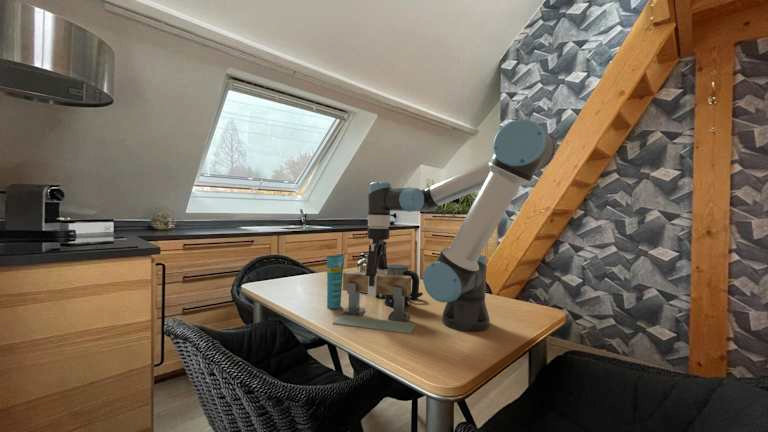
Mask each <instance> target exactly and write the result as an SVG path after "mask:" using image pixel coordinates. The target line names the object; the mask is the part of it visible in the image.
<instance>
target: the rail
mask: <svg viewBox="0 0 768 432" xmlns="http://www.w3.org/2000/svg"><path fill="white" fill-rule="evenodd" d="M376 276H377V287H376V295H377V294H378V295H385V294H386V295H393V287H403V293H402V296H407V297H409V296H410V294H411V292H412V279H411V277H412V276H402V275H390V274H386V273H385V274H378V273H377V272H376ZM348 282H349V283H357V288H356V292H360V293H366V294H368V276H366V272H365V271H364V272H363V271H362V272H361V271H353V270H352V271H351V270H347V271H343V277H342V291H346V292H347V284H348Z"/></svg>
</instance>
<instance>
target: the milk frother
mask: <svg viewBox="0 0 768 432" xmlns="http://www.w3.org/2000/svg"><path fill="white" fill-rule="evenodd" d="M387 267H388V269H387V270H386V269H385V274H390V275H402V276H412V277H411V294H410V296H409V297H407V296H404V307H406V306H408V305H409V301H411V302H416V301H417V300H418V298H420V297H422V296H423V295H424V293H423V292H420V290H419V289H420V288H419V287H420V277H419V275H418V274H417V273H416V272H415V271H414V270H409V267H410V266H409V265H407V264H401V263H400V264H398V263H396V264H394V263H393V264H387ZM384 295H385V296H384V297H385V298H384V301H383V302H384V305H386V306H389V307H393V308H394V299H393V295H386V294H384Z"/></svg>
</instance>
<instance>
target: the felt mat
mask: <svg viewBox="0 0 768 432" xmlns="http://www.w3.org/2000/svg"><path fill="white" fill-rule="evenodd" d="M332 325H338V326H339V325H340V326H349V327H355V328H364V329H372V330H379V331H387V332H395V333H404V334H412V333H413V332H414V331H413V330H414V328H415V327H416V323H414V322H406V321H397V320H388V319H380V318H371V317H364V316H354V315H345V314H341V315H340V316H339V317H338V318H337V319H335V320H334V321H333V322H332Z"/></svg>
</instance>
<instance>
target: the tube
mask: <svg viewBox="0 0 768 432" xmlns="http://www.w3.org/2000/svg"><path fill="white" fill-rule="evenodd" d="M345 257H346V256H345V254H335V255H326V278H327V280H326V281H327V283H326V285H327V290H326V292H327V294H326V295H327V296H326V297H327V298H326V307H327V308H328V309H340V308H341V303H342V291H343V273H344V263H345Z"/></svg>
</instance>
